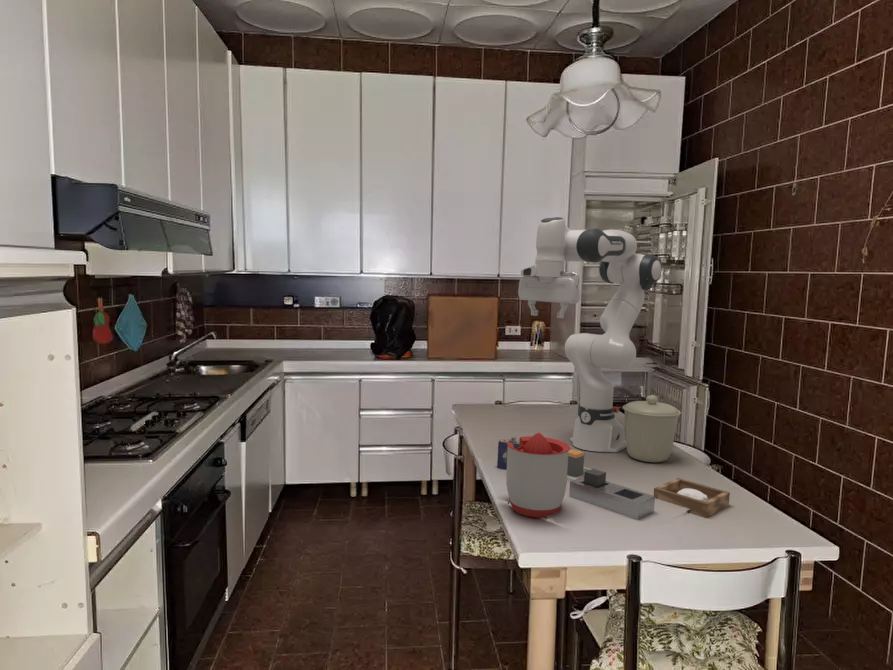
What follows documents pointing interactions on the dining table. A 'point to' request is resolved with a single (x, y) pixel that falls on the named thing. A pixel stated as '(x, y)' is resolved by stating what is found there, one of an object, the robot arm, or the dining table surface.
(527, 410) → the dining table surface
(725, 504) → the garlic corral
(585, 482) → the twin plug
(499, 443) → the blue box
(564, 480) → the citrus juicer
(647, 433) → the canister
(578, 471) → the plug
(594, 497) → the grey socket block
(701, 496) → the garlic
